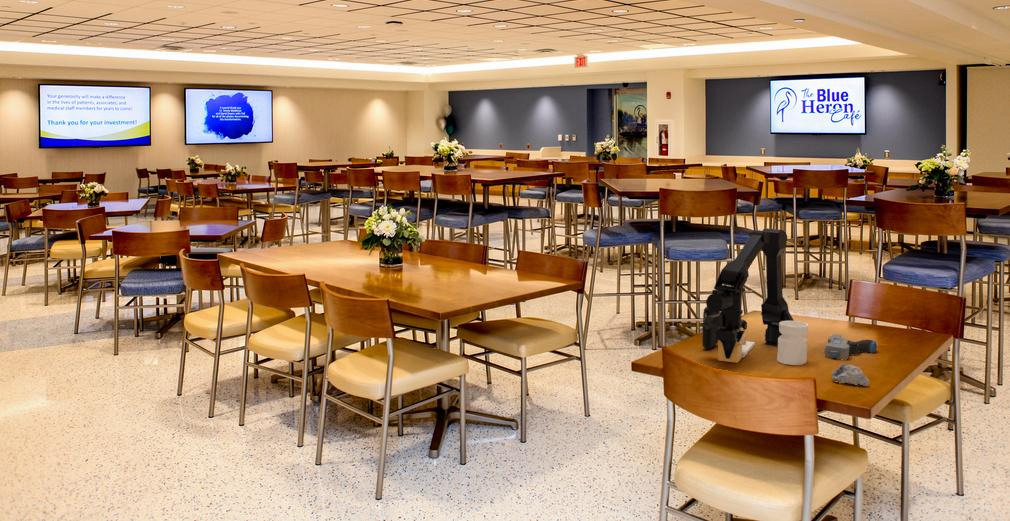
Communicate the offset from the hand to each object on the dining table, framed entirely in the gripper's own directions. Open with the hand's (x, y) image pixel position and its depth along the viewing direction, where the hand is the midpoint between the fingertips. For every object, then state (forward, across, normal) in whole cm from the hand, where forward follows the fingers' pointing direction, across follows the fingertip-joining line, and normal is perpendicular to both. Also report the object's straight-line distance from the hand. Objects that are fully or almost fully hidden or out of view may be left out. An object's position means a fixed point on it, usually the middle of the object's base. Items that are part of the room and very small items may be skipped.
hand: (730, 355), depth 269 cm
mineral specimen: (+2, +8, +36) cm, 37 cm away
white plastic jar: (+2, -8, +18) cm, 19 cm away
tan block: (+1, 0, 0) cm, 1 cm away
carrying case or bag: (+2, -12, -9) cm, 15 cm away
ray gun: (+2, -25, +33) cm, 42 cm away
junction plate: (+1, -14, 0) cm, 14 cm away
